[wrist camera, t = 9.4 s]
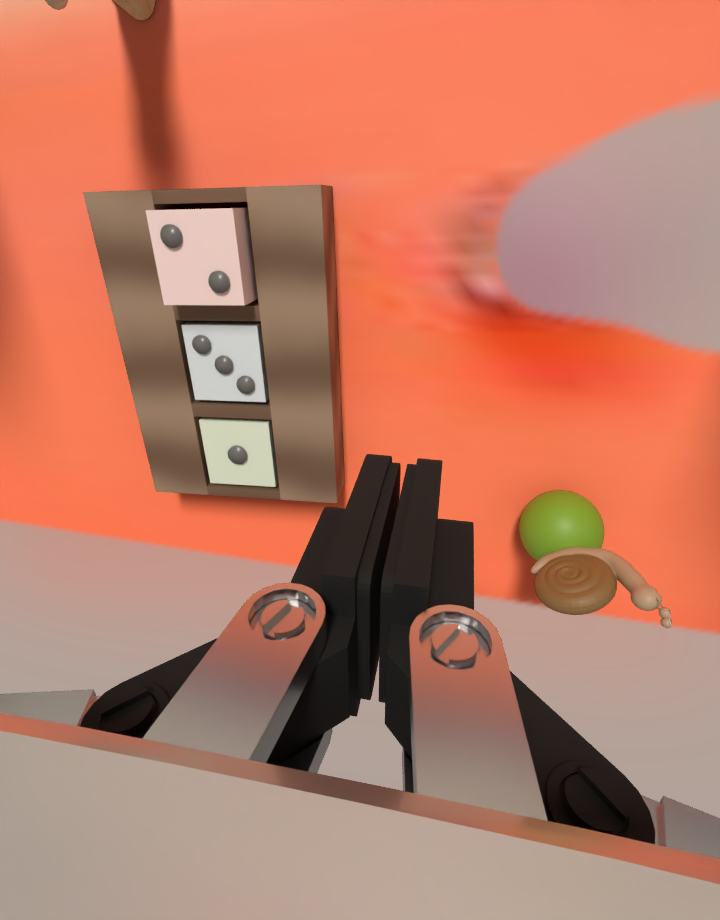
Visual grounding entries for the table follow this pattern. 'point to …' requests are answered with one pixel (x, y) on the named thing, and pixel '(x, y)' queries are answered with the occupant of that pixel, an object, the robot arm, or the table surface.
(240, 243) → the two dot tile
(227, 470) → the cream knobbed tile
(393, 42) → the table surface
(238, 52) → the table surface
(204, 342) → the three dot tile
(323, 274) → the counting board
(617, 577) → the snail figurine
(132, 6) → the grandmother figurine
